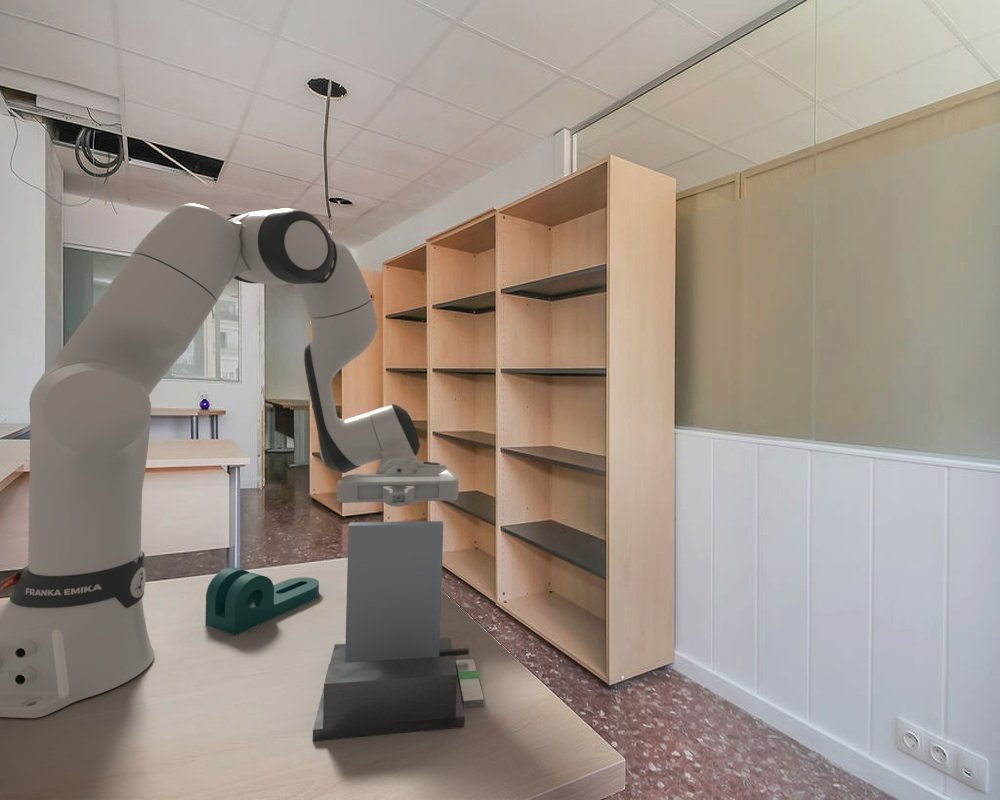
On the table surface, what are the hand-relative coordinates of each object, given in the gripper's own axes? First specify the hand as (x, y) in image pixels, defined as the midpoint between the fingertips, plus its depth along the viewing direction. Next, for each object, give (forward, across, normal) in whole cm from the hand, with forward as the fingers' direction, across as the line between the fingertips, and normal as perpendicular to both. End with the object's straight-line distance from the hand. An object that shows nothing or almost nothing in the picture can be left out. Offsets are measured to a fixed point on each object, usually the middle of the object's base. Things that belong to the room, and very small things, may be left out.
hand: (398, 498), depth 82 cm
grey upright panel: (+14, +2, +18) cm, 23 cm away
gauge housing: (+18, +1, +20) cm, 27 cm away
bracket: (-7, -20, +20) cm, 29 cm away
